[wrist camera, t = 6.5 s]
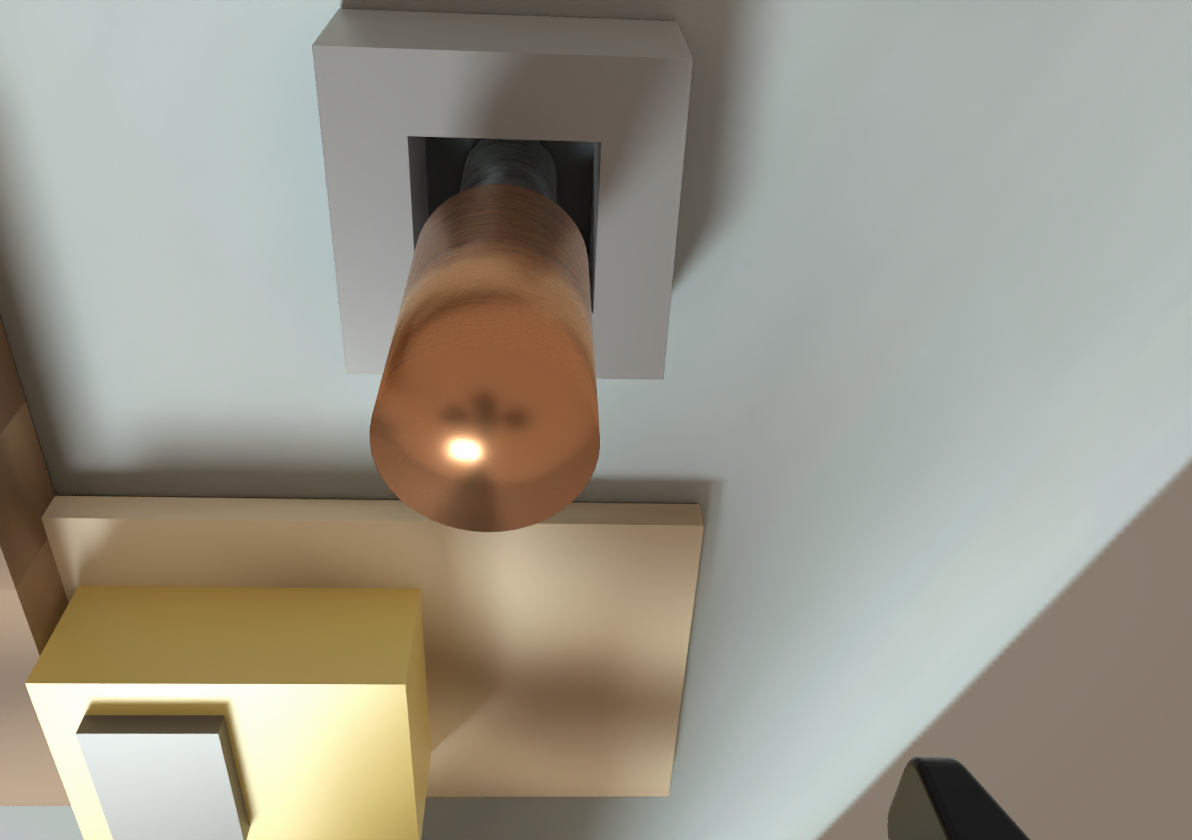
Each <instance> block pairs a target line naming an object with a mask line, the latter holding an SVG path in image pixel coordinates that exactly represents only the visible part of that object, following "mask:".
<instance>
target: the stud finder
mask: <svg viewBox="0 0 1192 840" xmlns="http://www.w3.org/2000/svg"><path fill="white" fill-rule="evenodd" d="M25 685H26V687H27V690H28V693H29V695H30V698H31V700H32V703H33V706H34V708H35V711H36V714H37V716H38V719H39V722H40V724H41V727H42V730H43V732H44V735H45V737H46V740H47V743H48V745H49V748H50V751H51V753H52V756H53V759H54V761H55V764H56V767H57V769H58V772H59V774H60V777H61V780H62V782H63V785H64V788H65V790H66V793H67V796H68V798H69V801H70V804H71V806H72V809H73V811H74V814H75V817H76V819H77V822H78V825H79V827H80V830H81V833H82V835H83V838H84V840H421V836H422V827H423V819H424V810H425V802H426V793H427V785H428V776H429V768H430V759H431V740H430V725H429V711H428V696H427V682H426V667H425V653H424V638H423V624H422V609H421V595H420V589H406V588H279V587H152V586H78V588H77V589H76V591H75V593H74V595H73V597H72V598H71V600H70V602H69V604H68V606H67V608H66V609H65V611H64V613H63V615H62V617H61V619H60V620H59V622H58V624H57V626H56V628H55V630H54V631H53V633H52V635H51V637H50V639H49V641H48V642H47V644H46V646H45V648H44V650H43V652H42V653H41V655H40V657H39V659H38V661H37V662H36V664H35V666H34V668H33V670H32V672H31V673H30V675H29V677H28V679H27V681H26V683H25Z"/></svg>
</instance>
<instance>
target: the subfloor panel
mask: <svg viewBox="0 0 1192 840" xmlns="http://www.w3.org/2000/svg"><path fill="white" fill-rule="evenodd" d="M41 519H42V522H43V525H44V528H45V531H46V534H47V537H48V541H49V544H50V547H51V550H52V553H53V556H54V559H55V562H56V565H57V568H58V571H59V575H60V578H61V581H62V584H63V587H64V590H65V593H66V596H67V599H68V602H70V600H71V598H72V597H73V595H74V593H75V591H76V589H77V588H78V586H152V587H279V588H406V589H420V595H421V609H422V624H423V638H424V653H425V667H426V682H427V696H428V711H429V725H430V740H431V759H430V768H429V776H428V785H427V793H426V797H669V790H670V783H671V775H672V767H673V760H674V752H675V744H676V737H677V729H678V721H679V714H680V706H681V698H682V691H683V683H684V675H685V668H686V660H687V652H688V645H689V637H690V630H691V622H692V614H693V607H694V599H695V591H696V584H697V576H698V568H699V561H700V553H701V545H702V538H703V530H704V523H703V517H702V512H701V507H700V504H650V503H573V502H571V503H570V504H569V505H568V506H567V507H566V508H564V509H563V510H561V511H560V512H558V513H557V514H555V515H554V516H552V517H550V518H548V519H546V520H544V521H542V522H539V523H537V524H534V525H531V526H528V527H524V528H520V529H516V530H510V531H503V532H474V531H467V530H461V529H457V528H453V527H449V526H445V525H443V524H440V523H438V522H435V521H432V520H430V519H428V518H427V517H425V516H423V515H421V514H419V513H417V512H416V511H414V510H413V509H411V508H410V507H408V506H407V505H406V504H405V503H404V502H403V501H401V500H340V499H263V498H185V497H108V496H55V497H54V499H53V500H52V502H51V503H50V505H49V506H48V508H47V509H46V511H45V513H44V514H43V516H42V517H41Z"/></svg>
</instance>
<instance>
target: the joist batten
mask: <svg viewBox="0 0 1192 840" xmlns="http://www.w3.org/2000/svg"><path fill="white" fill-rule="evenodd" d="M54 497H55V493H54V490H53V487H52V484H51V481H50V477H49V474H48V471H47V468H46V464H45V461H44V458H43V455H42V451H41V448H40V445H39V442H38V439H37V435H36V432H35V429H34V426H33V422H32V419H31V416H30V413H29V409H28V406H27V403H26V400H25V396H24V393H23V390H22V387H21V384H20V380H19V377H18V374H17V371H16V367H15V364H14V361H13V358H12V354H11V351H10V348H9V345H8V342H7V338H6V335H5V332H4V329H3V325H2V322H1V319H0V806H71V804H70V801H69V798H68V796H67V793H66V790H65V788H64V785H63V782H62V780H61V777H60V774H59V772H58V769H57V767H56V764H55V761H54V759H53V756H52V753H51V751H50V748H49V745H48V743H47V740H46V737H45V735H44V732H43V730H42V727H41V724H40V722H39V719H38V716H37V714H36V711H35V708H34V706H33V703H32V700H31V698H30V695H29V693H28V690H27V687H26V685H25V683H26V681H27V679H28V677H29V675H30V673H31V672H32V670H33V668H34V666H35V664H36V662H37V661H38V659H39V657H40V655H41V653H42V652H43V650H44V648H45V646H46V644H47V642H48V641H49V639H50V637H51V635H52V633H53V631H54V630H55V628H56V626H57V624H58V622H59V620H60V619H61V617H62V615H63V613H64V611H65V609H66V608H67V606H68V604H69V602H68V599H67V596H66V593H65V590H64V587H63V584H62V581H61V578H60V575H59V571H58V568H57V565H56V562H55V559H54V556H53V553H52V550H51V547H50V544H49V541H48V537H47V534H46V531H45V528H44V525H43V522H42V519H41V517H42V516H43V514H44V513H45V511H46V509H47V508H48V506H49V505H50V503H51V502H52V500H53V499H54Z"/></svg>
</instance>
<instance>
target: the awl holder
mask: <svg viewBox="0 0 1192 840" xmlns="http://www.w3.org/2000/svg"><path fill="white" fill-rule="evenodd" d="M312 49H313V59H314V68H315V78H316V88H317V97H318V107H319V116H320V126H321V135H322V145H323V155H324V164H325V174H326V183H327V193H328V202H329V212H330V222H331V231H332V241H333V250H334V260H335V269H336V279H337V289H338V298H339V308H340V317H341V327H342V336H343V346H344V356H345V365H346V373H352V374H383V372H384V368H385V364H386V360H387V357H388V353H389V349H390V345H391V341H392V337H393V333H394V330H395V326H396V322H397V318H398V314H399V310H400V306H401V303H402V299H403V295H404V291H405V287H406V283H407V279H408V275H409V272H410V268H411V264H412V260H413V256H414V252H415V248H416V245H417V241H418V238H419V235H420V232H421V230H422V228H423V226H424V224H425V223H426V221H427V220H428V218H429V204H428V183H427V162H426V142H425V137H453V138H485V139H517V140H549V141H581V142H594V161H593V184H592V207H591V230H590V252H589V255H587V256H588V267H589V282H590V297H591V312H592V327H593V343H594V358H595V373H596V378H612V379H663V378H664V367H665V356H666V345H667V335H668V324H669V313H670V303H671V292H672V281H673V270H674V260H675V249H676V238H677V227H678V217H679V206H680V195H681V185H682V174H683V163H684V152H685V142H686V131H687V120H688V109H689V99H690V88H691V77H692V66H693V57H692V55H691V52H690V50H689V48H688V45H687V43H686V40H685V38H684V35H683V33H682V31H681V28H680V26H679V23H678V21H657V20H630V19H603V18H576V17H550V16H523V15H496V14H469V13H443V12H416V11H389V10H363V9H339V10H338V11H337V12H336V14H335V15H334V16H333V18H332V19H331V20H330V22H329V23H328V25H327V26H326V27H325V29H324V30H323V31H322V33H321V34H320V35H319V37H318V38H317V39H316V41H315V42H314V44H313V45H312Z"/></svg>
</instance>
